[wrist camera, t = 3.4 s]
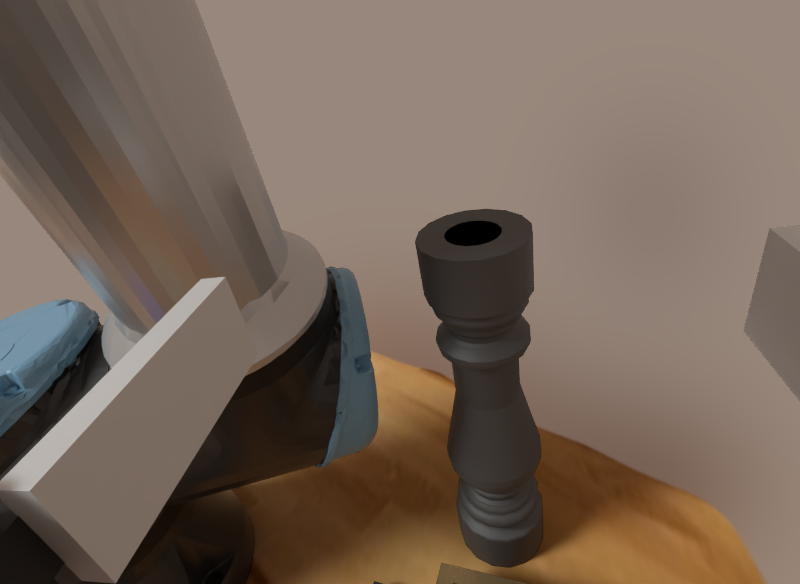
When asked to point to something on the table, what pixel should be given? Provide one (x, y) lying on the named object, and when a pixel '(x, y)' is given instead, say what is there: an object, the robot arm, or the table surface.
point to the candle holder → (487, 375)
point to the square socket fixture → (467, 576)
